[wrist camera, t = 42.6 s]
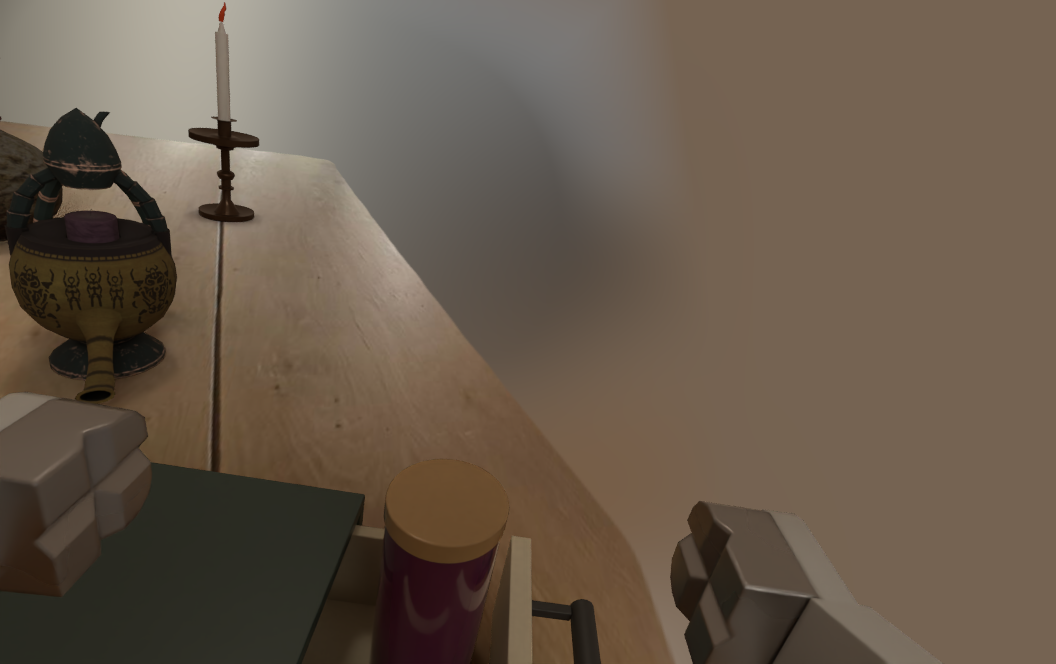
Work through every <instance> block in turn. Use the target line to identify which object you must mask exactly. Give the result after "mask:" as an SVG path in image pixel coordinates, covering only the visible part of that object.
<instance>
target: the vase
mask: <svg viewBox="0 0 1056 664" xmlns="http://www.w3.org/2000/svg"><path fill="white" fill-rule="evenodd" d="M0 120H1V117H0ZM46 168H48V167H47V165H46V164H45V163H44V160H43V152H42V151H41V150H39V149H38V148H37V147H35V146H33V145H31V144H29V143H27V142H25V141H23V140H21V139H19V138H17V137H15V136H13V135H10V134H8V133H6V132H4V131H2V130H0V240H7V235H6V230H5V225H7V210H9V209H10V205H11V200H12V196H13V192H14V191H17V190H18V189H19V188H20V186H21V185H22V184H23V183H24V182H25V180H26V179H27V178H28V177H29V175H30V174H36V173H38V172H40V171H42V170H44V169H46ZM38 194H39V192H38V193H37V194H36V195H35V196H34V198H35V200H34V202H33V205H32V207H31V210H30V214H31V216H30V218H29V221H28V224H31V223H33V218H34V210H35V206H36V201H37V198H38ZM61 204H62V187H61V189H60V192H59V195H58V198H57V201H56V204H55V209H54V213H53V216H54V215H55V214H57V212H58V210H59V208H60V206H61ZM28 224H27V225H28Z"/></svg>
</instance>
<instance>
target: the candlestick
mask: <svg viewBox="0 0 1056 664" xmlns="http://www.w3.org/2000/svg"><path fill="white" fill-rule="evenodd" d="M225 11H226V5H225V3H224V6H223V8H222V9H221V11H220V14H219V21H221V22H223V20H224V15H225V13H224V12H225ZM215 43H216V72H217V100H218V117H212V118H214V119H217V121H218V129H211V128H191V129H189V130H188V131H189V137H190V138H191V139H194V140H197V141H201V142H204V143H209V144H213V145H216V148H218V149H221V168H222V170H219V171H218V172H217V175H218V177H219V178H220V179H221V185H220V186H219V189H221V190H222V200H221V202H220V203H219V204H205V205H202V206H200V207H199V214H200V215H201V216H202V217H205V218H208V219H211V220H217V221H224V222H243V221H249V220H252V219H253V218H254V211H253V210H252V209H250V208H247V207H244V206H239V205H234V204H233V202H232V201H231V190H234V187H232V186H231V180H233V178H234V176H235V174H234V173H233V172H232V171H230V154H229V151H230V150H234V148H236V147H242V148H250V147H258V146H259V139H258V138H257V137H255V136H252V135H248V134H244V133H240V132H234V131H231V122H236V121H237V120H233V119H230V91H229V90H230V89H229V55H228V54H229V52H228V35H227V34H226V33H225V30H224V26H223V23H220V24H219V29H218V32H215Z"/></svg>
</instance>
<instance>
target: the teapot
mask: <svg viewBox="0 0 1056 664" xmlns="http://www.w3.org/2000/svg"><path fill="white" fill-rule="evenodd" d="M108 114H109V112H99V113H98V114H97V116H96V117H95V119H94V120H92V119H91V118H89V117H88V116H87V115H85V114H84V113H82V112H81V111H80V110H78V109H77V108H75V109H73V110H72V111H70V112H68V113H67V114H65V115H63V116H62V117H61V118H60V119H59V120H58V121H57V122H56V123H55V124H54V126H53V127H52V128H51V129H50V131H49V133H48V136H47V139H46V141H45V145H44V151H43V160H44V163H45V164H46V165H47V167H48V168H46V169H44V170H42V171H40V172H38V173H36V174H30V175H29V177H28V178H27V179H26V180H25V182H24V183H23V184H22V185H21V186H20V188H19V189H18V190H17V191H14V192H13V196H12V200H11V205H10V209H9V210H7V225H5V230H6V235H7V240H8V245H9V250H10V255H11V257H10V262H9V269H10V277H11V285H12V289H13V291H14V293H15V295H16V298H17V300H18V302H19V304H20V307H21V308H22V309H23V310H24V311H25V312H26V313H28V314H29V315H30V316H31V317H32V318H33V319H34V320H35V321H36V322H37V323H38V324H40V325H41V326H43V327H44V328H45V329H47V330H50V331H52V332H54V333H56V334H59V335H61V336H63V337H66V338H69V339H68V340H67V341H66V342H64V343H63V344H61V345H60V346H59V347H57V348H56V349H54V350H53V352H52V353H51V355H50V356H49V362H50V366H51V369H52V370H53V371H55V372H56V373H57V374H59V375H62V376H65V377H68V378H71V379H79V380H86V381H85V387H84V391H82V392H80V393H78V394H77V396H76V398H75V399H76V400H78V401H83V402H89V403H94V404H98V403H102V402H106V401H108V400H110V399H112V398H113V397H114V395H115V393H114V387H115V379H117V378H124V377H129V376H132V375H135V374H139V373H142V372H145V371H147V370H149V369H151V368H153V367H155V366H156V365H158V364H159V363H160V362H161V361H162V360H163V359H164V356H165V347H164V345H163V343H162V342H160V341H159V340H157V339H156V338H154V337H152V336H150V335H148V334H146V333H144V331H146V330H147V329H148V328H149V327H151V326H152V325H153V324H155V323H156V322H157V321H158V320H160V319H161V318H162V317H164V315H165V313H166V312H167V310H168V308H169V306H170V305H171V303H172V301H173V298H174V295H175V288H176V280H177V274H176V268H175V263H174V261H173V259H172V255H171V242H170V230H169V229H168V228H167V224H166V220H165V217H164V216H163V215H162V214H161V212H160V210H159V207H158V205H157V203H156V201H155V199H154V198H151V197H150V196H149V194H148V193H147V192H146V191H145V190H144V189H143V188H142V187H141V186H140V185H139V184H138V183H137V182H136V181H133V180H132V179H131V178H130V177H129V176H128V175H127V174H126V173H125V172H123V171H122V170H121V167H122V166H121V161H120V158H119V156H118V153H117V151H116V149H115V147H114V145H113V144H112V142H111V140H110V138H109V137H108V135H107V134H106V133H105V132H104V131H103V130H102V129H101V128H100V127H101V124H102V122H103V120H104V119H105V118H106V116H107V115H108ZM113 183H115V184H117V185H118V186H119V187H120V189H121V190H122V191H123V192H124V193H125V194H126V195H127V196H128V197H129V199H130V200H131V202H132V203H133V205H134V207H135V208H136V210H137V212H138V214H139V215H140V217H141V219H142V222H143V223H139V222H136V221H132V220H125V219H119V218H117V217H116V216H115V215H113V214H110V213H107V212H100V211H76V212H70V213H67V214H66V215H64V217H62V218H53V213H54V209H55V204H56V201H57V198H58V195H59V192H60V189H61V187H62V185H63V186H66V187H70V188H76V189H88V190H99V189H107V188H110V187H111V186H112V185H113ZM38 192H39V194H38V198H37V201H36V206H35V210H34V218H33V223H31V224H28V221H29V218H30V216H31V214H30V210H31V207H32V205H33V202H34V200H35V198H34V196H35V195H36V194H37V193H38ZM52 218H53V219H52ZM27 224H28V225H27Z"/></svg>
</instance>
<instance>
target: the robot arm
mask: <svg viewBox="0 0 1056 664" xmlns="http://www.w3.org/2000/svg"><path fill="white" fill-rule="evenodd" d="M147 437H148V433H147V427H146V421H145V417H144V416H142V415H141V414H139V413H138V412H136V411H133V410H128V409H122V408H117V407H111V406H106V405H100V404H94V403H89V402H83V401H78V400H72V399H67V398H58V397H53V396H47V395H42V394H36V393H30V392H19V393H10V394H8V395H6V396H4V397H3V398H1V399H0V591H5V592H15V593H25V594H35V595H45V596H55V597H62V596H63V595H64V594H65V593H66V592H67V591H68V590H69V589H70V588H71V587H72V586H73V585H74V583H75V582H76V581H77V580H78V579H79V578H80V577H81V576H82V575H83V574H84V573H85V572H86V571H87V569H88V568H89V567H90V566H91V565H92V564H93V563H94V562H95V561H96V560H97V559H98V558H99V557H100V555H101V540H102V539H104V538H106V537H109V536H111V535H113V534H115V533H117V532H119V531H121V530H124V529H125V528H126V527H127V526H128V525H129V524H130V523H131V521H132V520H133V519H134V518H135V517H136V516H137V515H138V513H139V512H140V510H141V508H142V506H143V504H144V502H145V500H146V498H147V496H148V494H149V491H150V485H151V480H152V470H151V462H150V461H149V460H148V458H147V457H146V456H145V455H144V454H143V453H142V451H141V450H140V449H139V448H138V447H139V446H140V445H141V444H142V443H143V442H144V441H145V439H146V438H147ZM687 521H688V524H689V526H690V529H691V532H692V533H691V534H689V535H688V536H686V537H685V538H684V539H682V540H681V541H679V542H678V544H677V547H676V549H675V552H674V555H673V557H672V565H671V576H670V578H671V587H672V593H673V597H674V601H675V604H676V607H677V608H678V609H679V610H680V611H681V612H682V613H683V614H684V616H685V617H686V618H687V619H688V620H689V621H690V623H689V625H688V627H687V629H686V632H685V634H684V635H685V639H686V642H687V645H688V649H689V652H690V655H691V659H692V662H693V664H943V663H942V662H940V661H939V660H938V659H937V658H935V657H934V656H933V655H931V654H930V653H929V652H928V651H926V650H925V649H924V648H922V647H921V646H920V645H918V644H917V643H916V642H914V641H913V640H912V639H911V638H909V637H908V636H907V635H906V634H904V633H903V632H901V631H900V630H899V629H898V628H896V627H895V626H894V625H893V624H891V623H890V622H889V621H887V620H886V619H885V618H883V617H882V616H881V615H880V614H878V613H877V612H876V611H874V610H873V609H872V608H871V607H869V606H863V605H858V603H857V602H856V600H855V599H854V597H853V596H852V594H851V593H850V591H849V589H848V588H847V586H846V585H845V583H844V582H843V580H842V579H841V577H840V576H839V574H838V573H837V571H836V570H835V568H834V567H833V565H832V563H831V562H830V560H829V559H828V557H827V556H826V554H825V553H824V551H823V550H822V548H821V547H820V545H819V544H818V542H817V541H816V539H815V538H814V536H813V534H812V533H811V531H810V530H809V528H808V527H807V525H806V524H805V522H804V521H803V520H802V519H801V518H800V517H798V516H797V515H795V514H792V513H785V512H777V511H770V510H756V509H749V508H743V507H736V506H730V505H723V504H717V503H710V502H704V501H699V502H698V503H697V504H696V505H695V506H694V507H693V508H692V511H691V513H690V515H689V518H688V520H687Z"/></svg>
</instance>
